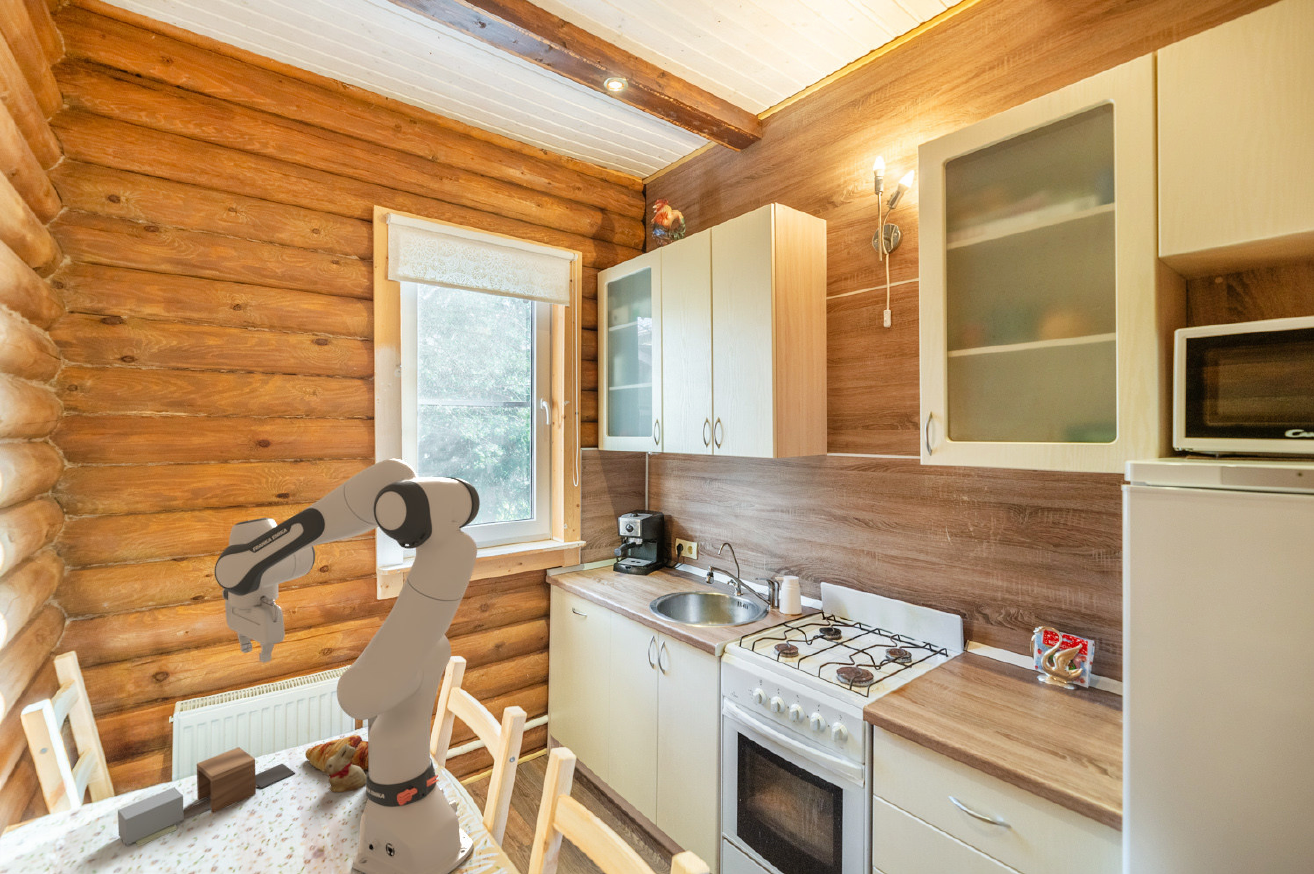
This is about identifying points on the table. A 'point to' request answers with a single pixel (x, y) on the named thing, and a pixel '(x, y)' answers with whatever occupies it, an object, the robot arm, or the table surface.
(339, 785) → the chocolate bunny
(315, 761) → the croissant
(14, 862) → the table surface
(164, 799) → the block
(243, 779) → the tunnel
